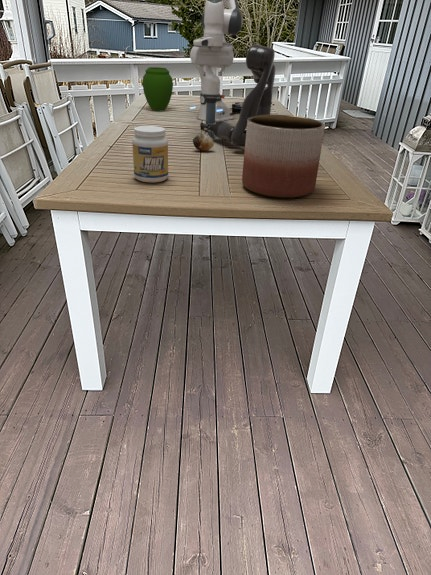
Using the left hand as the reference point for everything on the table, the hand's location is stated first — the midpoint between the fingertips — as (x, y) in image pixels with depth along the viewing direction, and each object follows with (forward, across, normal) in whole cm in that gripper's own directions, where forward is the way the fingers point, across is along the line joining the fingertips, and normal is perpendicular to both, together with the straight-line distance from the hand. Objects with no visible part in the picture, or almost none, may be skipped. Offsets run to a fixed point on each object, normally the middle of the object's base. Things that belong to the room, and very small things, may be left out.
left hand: (212, 76), depth 192 cm
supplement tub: (+28, +51, +53) cm, 79 cm away
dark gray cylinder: (+28, 0, 0) cm, 28 cm away
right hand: (+22, 0, -2) cm, 22 cm away
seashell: (+28, +16, +24) cm, 40 cm away
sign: (+28, -63, -68) cm, 96 cm away
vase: (+28, -4, -80) cm, 85 cm away
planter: (+28, +14, +79) cm, 85 cm away
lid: (+10, 0, 0) cm, 10 cm away
